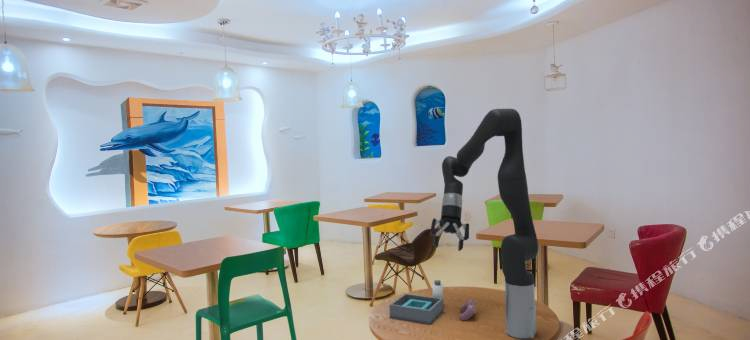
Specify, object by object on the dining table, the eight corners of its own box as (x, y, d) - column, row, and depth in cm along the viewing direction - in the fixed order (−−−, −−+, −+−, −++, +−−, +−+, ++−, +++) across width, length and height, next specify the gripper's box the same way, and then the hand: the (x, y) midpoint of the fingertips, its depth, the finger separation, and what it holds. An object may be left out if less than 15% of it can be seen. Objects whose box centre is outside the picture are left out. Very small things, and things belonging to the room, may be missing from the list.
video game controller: (470, 325, 159) (478, 309, 158) (458, 319, 160) (466, 302, 159) (469, 315, 168) (477, 299, 168) (458, 309, 169) (466, 294, 168)
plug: (444, 304, 176) (444, 280, 176) (441, 308, 173) (440, 282, 172) (435, 303, 178) (434, 279, 178) (431, 306, 175) (430, 281, 174)
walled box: (443, 311, 169) (443, 298, 169) (430, 324, 157) (429, 310, 157) (405, 305, 177) (404, 293, 177) (389, 317, 165) (389, 304, 164)
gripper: (434, 201, 166) (430, 244, 161) (472, 207, 166) (469, 250, 160) (432, 206, 173) (427, 247, 168) (468, 211, 173) (465, 253, 167)
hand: (448, 248), depth 164 cm, fingers open, 8 cm apart
